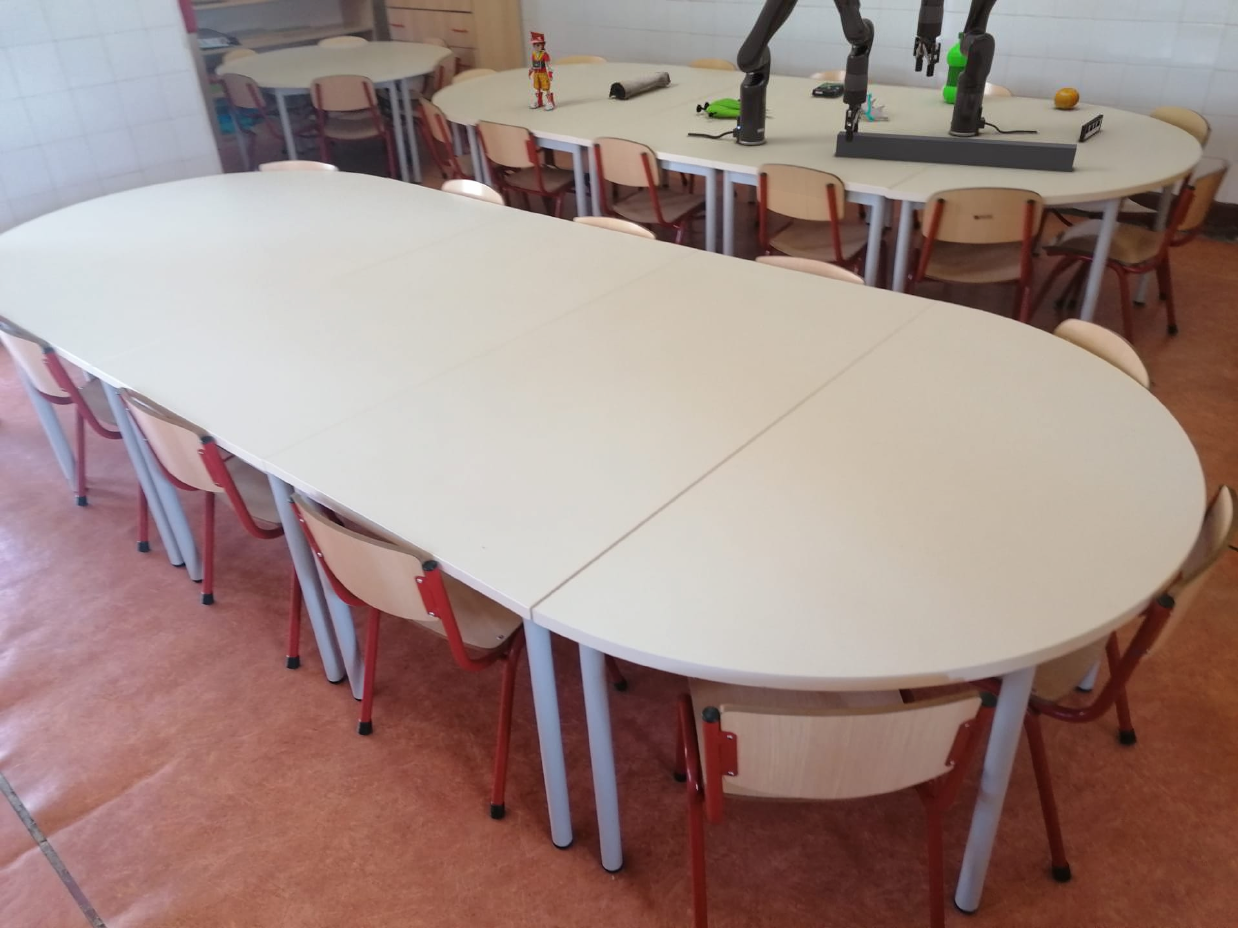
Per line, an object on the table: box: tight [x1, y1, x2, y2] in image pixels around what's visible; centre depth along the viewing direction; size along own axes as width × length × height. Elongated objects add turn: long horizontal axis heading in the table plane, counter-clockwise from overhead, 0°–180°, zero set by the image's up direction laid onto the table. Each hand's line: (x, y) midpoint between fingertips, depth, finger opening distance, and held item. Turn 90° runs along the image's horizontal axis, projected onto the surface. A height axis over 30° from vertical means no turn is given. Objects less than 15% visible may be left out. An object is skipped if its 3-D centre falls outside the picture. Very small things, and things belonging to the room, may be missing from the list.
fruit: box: [1053, 87, 1080, 110], centre depth 337 cm, size 8×8×8 cm
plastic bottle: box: [942, 31, 967, 104], centre depth 348 cm, size 10×10×25 cm
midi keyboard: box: [1078, 113, 1104, 142], centre depth 307 cm, size 18×1×5 cm, turn 138°
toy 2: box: [696, 97, 771, 118], centre depth 355 cm, size 28×5×30 cm
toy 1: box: [527, 31, 556, 111], centre depth 374 cm, size 12×9×30 cm
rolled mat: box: [608, 71, 672, 101], centre depth 395 cm, size 30×9×10 cm
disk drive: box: [811, 82, 844, 99], centre depth 376 cm, size 10×3×15 cm
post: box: [835, 130, 1078, 172], centre depth 291 cm, size 73×4×7 cm, turn 66°
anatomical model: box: [861, 90, 889, 122], centre depth 341 cm, size 15×10×10 cm
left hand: (851, 138), depth 301 cm, fingers open, 8 cm apart
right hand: (923, 74), depth 296 cm, fingers open, 8 cm apart
